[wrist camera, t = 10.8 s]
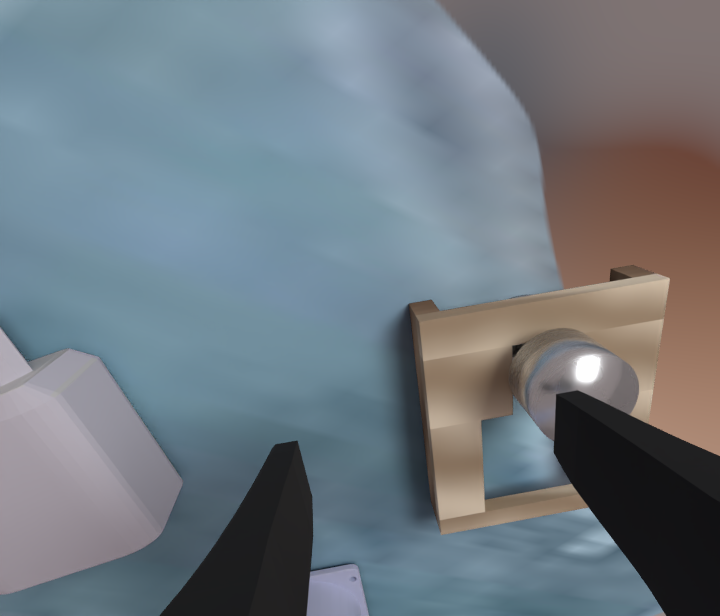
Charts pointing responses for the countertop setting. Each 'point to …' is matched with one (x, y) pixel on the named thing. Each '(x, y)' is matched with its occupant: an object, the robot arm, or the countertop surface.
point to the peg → (568, 374)
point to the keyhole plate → (491, 385)
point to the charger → (73, 469)
